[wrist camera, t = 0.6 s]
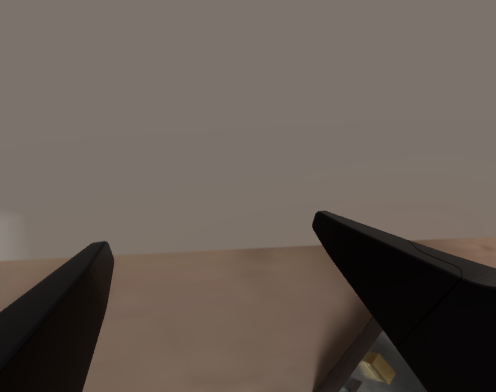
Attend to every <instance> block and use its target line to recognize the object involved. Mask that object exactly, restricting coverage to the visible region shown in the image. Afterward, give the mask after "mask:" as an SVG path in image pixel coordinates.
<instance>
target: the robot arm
mask: <svg viewBox="0 0 496 392" xmlns="http://www.w3.org/2000/svg"><path fill="white" fill-rule="evenodd" d="M312 228H313V230H314V232H315V233H316V235H317V237H318V238H319V240H320V242H321V243H322V245H323V247H324V248H325V250H326V252H327V253H328V255H329V256H330V258H331V259H332V260H333V262H334V263H335V265H336V266H337V267H338V269H339V270H340V271H341V273H342V274H343V276H344V277H345V278H346V280H347V281H348V283H349V284H350V285H351V287H352V288H353V289H354V291H355V292H356V294H357V295H358V296H359V298H360V299H361V301H362V302H363V303H364V305H365V306H366V307H367V309H368V310H369V312H370V313H371V314H372V316H373V317H374V319H375V320H376V321H377V323H378V324H379V325H380V327H381V328H382V330H383V331H384V332H385V334H386V335H387V336H388V338H389V339H390V341H391V342H392V343H393V345H394V346H395V347H396V349H397V351H398V352H399V353H400V355H401V356H402V358H403V359H404V360H405V362H406V363H407V364H408V366H409V367H410V369H411V370H412V371H413V373H414V374H415V376H416V377H417V378H418V380H419V381H420V382H421V384H422V385H423V387H424V388H425V389H426V391H427V392H496V268H493V267H489V266H486V265H483V264H479V263H476V262H473V261H470V260H467V259H464V258H460V257H457V256H454V255H451V254H448V253H445V252H442V251H439V250H435V249H432V248H429V247H427V246H424V245H421V244H418V243H415V242H412V241H409V240H406V239H403V238H401V237H398V236H395V235H392V234H389V233H386V232H384V231H381V230H378V229H375V228H372V227H370V226H367V225H364V224H361V223H358V222H355V221H353V220H350V219H347V218H344V217H341V216H338V215H335V214H332V213H330V212H327V211H318V212H317V213H316V214H315V217H314V221H313V224H312ZM113 267H114V258H113V255H112V252H111V249H110V246H109V244H108V242H106V241H102V242H95V243H92V244H90V245H89V246H87V247H86V248H85V249H83V250H82V251H81V252H79V253H78V254H77V255H75V256H74V257H73V258H71V259H70V260H69V261H67V262H66V263H65V264H63V265H62V266H61V267H59V268H58V269H57V270H55V271H54V272H53V273H51V274H50V275H49V276H47V277H46V278H45V279H43V280H42V281H41V282H40V283H38V284H37V285H36V286H34V287H33V288H32V289H30V290H29V291H28V292H26V293H25V294H24V295H22V296H21V297H20V298H18V299H17V300H16V301H14V302H13V303H12V304H10V305H9V306H8V307H6V308H5V309H4V310H2V311H1V312H0V392H82V391H83V387H84V384H85V381H86V377H87V374H88V370H89V367H90V363H91V360H92V357H93V353H94V350H95V346H96V343H97V340H98V336H99V333H100V329H101V326H102V322H103V319H104V316H105V312H106V308H107V303H108V298H109V291H110V285H111V279H112V273H113Z"/></svg>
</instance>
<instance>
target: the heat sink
mask: <svg viewBox="0 0 496 392" xmlns="http://www.w3.org/2000/svg"><path fill="white" fill-rule="evenodd" d="M315 392H427V391H426V389H425V388H424V387H423V385H422V384H421V382H420V381H419V380H418V378H417V377H416V376H415V374H414V373H413V371H412V370H411V369H410V367H409V366H408V364H407V363H406V362H405V360H404V359H403V358H402V356H401V355H400V353H399V352H398V351H397V349H396V347H395V346H394V345H393V343H392V342H391V341H390V339H389V338H388V336H387V335H386V334H385V332H384V331H383V330H382V328H381V327H380V325H379V324H378V323H377V321H376V320H375V319H374V317H373V318H372V319H371V320H370V322H369V323H368V324H367V326H366V327H365V328H364V329H363V331H362V332H361V333H360V335H359V336H358V337H357V338H356V340H355V341H354V342H353V344H352V345H351V346H350V347H349V349H348V350H347V351H346V353H345V354H344V355H343V356H342V358H341V359H340V360H339V361H338V363H337V364H336V365H335V367H334V368H333V369H332V370H331V372H330V373H329V374H328V376H327V377H326V378H325V379H324V381H323V382H322V383H321V385H320V386H319V387H318V388H317V390H316V391H315Z"/></svg>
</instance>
